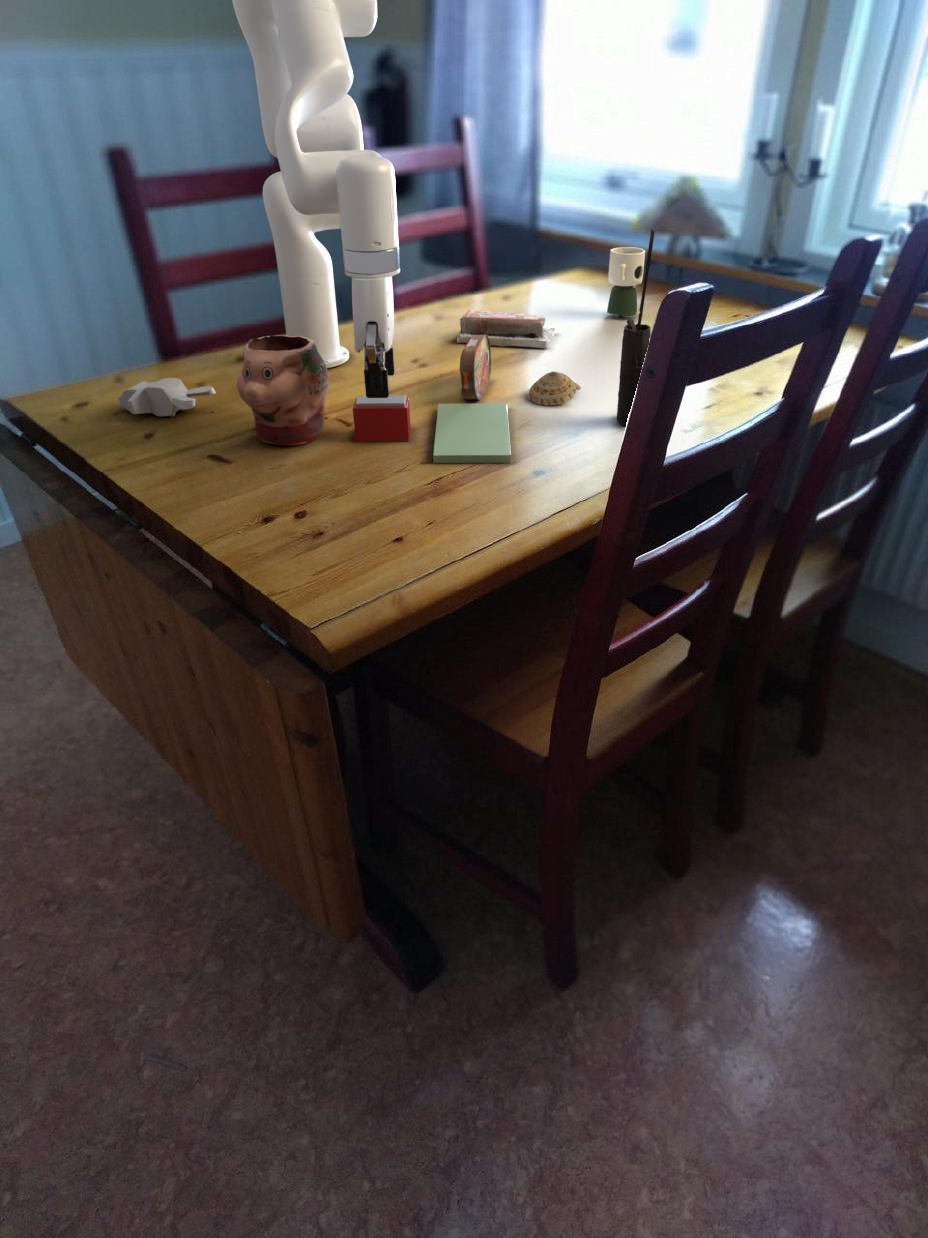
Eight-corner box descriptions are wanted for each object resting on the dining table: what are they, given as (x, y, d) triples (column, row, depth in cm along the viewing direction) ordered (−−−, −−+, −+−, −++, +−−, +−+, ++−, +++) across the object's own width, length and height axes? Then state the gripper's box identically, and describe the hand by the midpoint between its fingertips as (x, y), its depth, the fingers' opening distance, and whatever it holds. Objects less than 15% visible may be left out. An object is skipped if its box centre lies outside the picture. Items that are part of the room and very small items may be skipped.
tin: (476, 407, 138) (476, 355, 133) (457, 406, 138) (456, 354, 134) (492, 376, 150) (493, 328, 145) (475, 375, 150) (475, 327, 146)
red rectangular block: (408, 441, 127) (406, 404, 124) (355, 441, 127) (352, 404, 124) (410, 429, 130) (408, 393, 127) (358, 430, 131) (355, 394, 127)
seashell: (592, 381, 141) (566, 374, 135) (582, 415, 142) (556, 409, 136) (552, 370, 145) (526, 363, 139) (543, 403, 147) (516, 397, 141)
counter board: (433, 463, 120) (433, 455, 120) (438, 410, 137) (438, 403, 136) (510, 462, 120) (510, 454, 120) (506, 410, 137) (506, 403, 136)
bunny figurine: (139, 373, 141) (215, 371, 136) (149, 403, 144) (224, 402, 139) (102, 392, 134) (181, 391, 129) (113, 424, 136) (191, 424, 131)
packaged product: (455, 318, 163) (467, 304, 171) (455, 343, 166) (468, 329, 174) (548, 323, 159) (556, 309, 167) (547, 349, 162) (555, 334, 170)
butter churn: (595, 408, 137) (610, 219, 121) (654, 408, 137) (677, 219, 121) (601, 430, 129) (617, 232, 113) (663, 430, 129) (689, 232, 113)
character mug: (633, 323, 175) (640, 257, 168) (599, 321, 177) (605, 254, 170) (642, 310, 184) (649, 245, 176) (610, 307, 186) (615, 243, 178)
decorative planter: (280, 404, 140) (268, 318, 132) (351, 409, 138) (343, 322, 130) (229, 454, 124) (212, 359, 116) (309, 460, 122) (297, 364, 114)
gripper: (351, 248, 122) (361, 367, 131) (335, 275, 107) (347, 407, 117) (404, 247, 121) (410, 366, 131) (394, 275, 107) (402, 406, 117)
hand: (380, 385), depth 124 cm, fingers open, 9 cm apart
